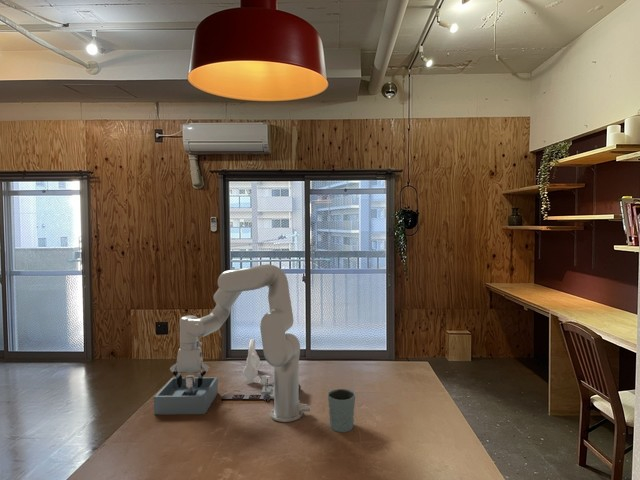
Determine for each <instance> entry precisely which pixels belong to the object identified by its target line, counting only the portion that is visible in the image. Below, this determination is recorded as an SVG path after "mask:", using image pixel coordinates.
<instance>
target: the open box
mask: <svg viewBox="0 0 640 480" xmlns="http://www.w3.org/2000/svg"><path fill="white" fill-rule="evenodd" d="M198 378H199V377H198V376H197V377H196V376H195V396H185V377H183V376H182V386H181V387H180V388H178V385H177V378H176V376H174V377H171V378H170V379H169V380H168V381H167V383H166V384H164V385H163V387H162V388H160V390H159V391H158V392H157V393H156V394H155V395H154V396H153V414H154V415H206V414H205V413H207V412H208V410H210V409H209V408H210V407H211V405H212V404H211V403H213V402H214V400H215V398H216V396H217V395H218V393H219V391H218V390H219V387H218V384H219V383H218V382H219V381H218V377H217V376H215V377H214V376H213V377H212V376H211V377H209V376H206V377H205V376H203V384H202V385H201V386H200V388H198Z"/></svg>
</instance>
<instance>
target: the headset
mask: <svg viewBox="0 0 640 480" xmlns="http://www.w3.org/2000/svg"><path fill="white" fill-rule="evenodd" d="M247 350H248V351H247V357H246V365H245V367H243V370H242V371H243V373H242V374H243V376H244V378H245V379H246V384H247V385H249V384H252V383H254V379H256V378H257V376H258V367H259V366H260V362H261V359H260V356H259V355H258V352H257V351H256V342H255V339H254V338H251V339H250V340H249V343H248V349H247Z"/></svg>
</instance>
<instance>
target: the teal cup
mask: <svg viewBox="0 0 640 480" xmlns="http://www.w3.org/2000/svg"><path fill="white" fill-rule="evenodd" d="M327 399H328V408H329V410H328V412H329V413H328V414H329V427H330V429H331V430H333V431H335V432H337V433H347V432H351V431H352V430H353V428H354V422H355V420H354V419H355V418H354V415H355V404H356V403H355V402H356V393H355V392H354V391H352V390H351V389H345V388H337V389H332V390H329V392H328V393H327Z"/></svg>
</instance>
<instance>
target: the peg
mask: <svg viewBox="0 0 640 480" xmlns="http://www.w3.org/2000/svg"><path fill="white" fill-rule="evenodd" d="M195 377H196V376H195V375H194V374H188V375H185V396H195Z"/></svg>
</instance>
